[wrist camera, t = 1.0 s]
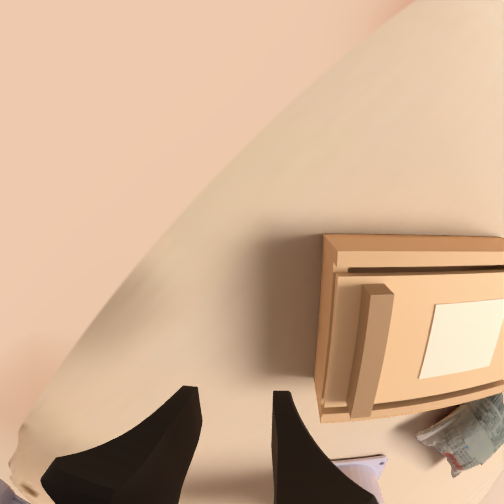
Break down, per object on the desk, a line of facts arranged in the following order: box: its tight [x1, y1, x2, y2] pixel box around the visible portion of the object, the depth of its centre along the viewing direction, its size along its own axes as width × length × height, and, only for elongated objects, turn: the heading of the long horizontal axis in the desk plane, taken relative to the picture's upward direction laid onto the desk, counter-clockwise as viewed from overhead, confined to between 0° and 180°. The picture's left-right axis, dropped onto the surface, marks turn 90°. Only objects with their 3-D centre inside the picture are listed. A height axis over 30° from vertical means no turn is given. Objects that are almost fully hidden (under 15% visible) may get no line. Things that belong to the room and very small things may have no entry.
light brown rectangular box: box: [314, 234, 504, 423], centre depth 18 cm, size 11×15×5 cm
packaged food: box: [416, 392, 504, 478], centre depth 20 cm, size 9×12×5 cm
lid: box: [323, 269, 504, 419], centre depth 15 cm, size 8×15×2 cm, turn 91°
